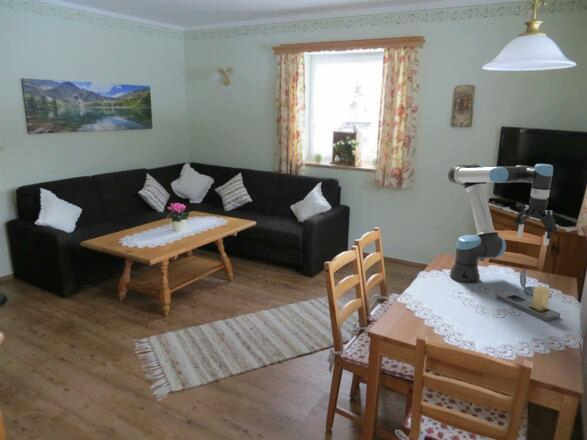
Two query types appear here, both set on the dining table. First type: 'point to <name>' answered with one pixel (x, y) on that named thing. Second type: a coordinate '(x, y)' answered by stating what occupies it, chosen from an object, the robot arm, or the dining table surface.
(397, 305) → the dining table surface
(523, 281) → the pocket watch
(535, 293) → the brass block
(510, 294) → the panel
